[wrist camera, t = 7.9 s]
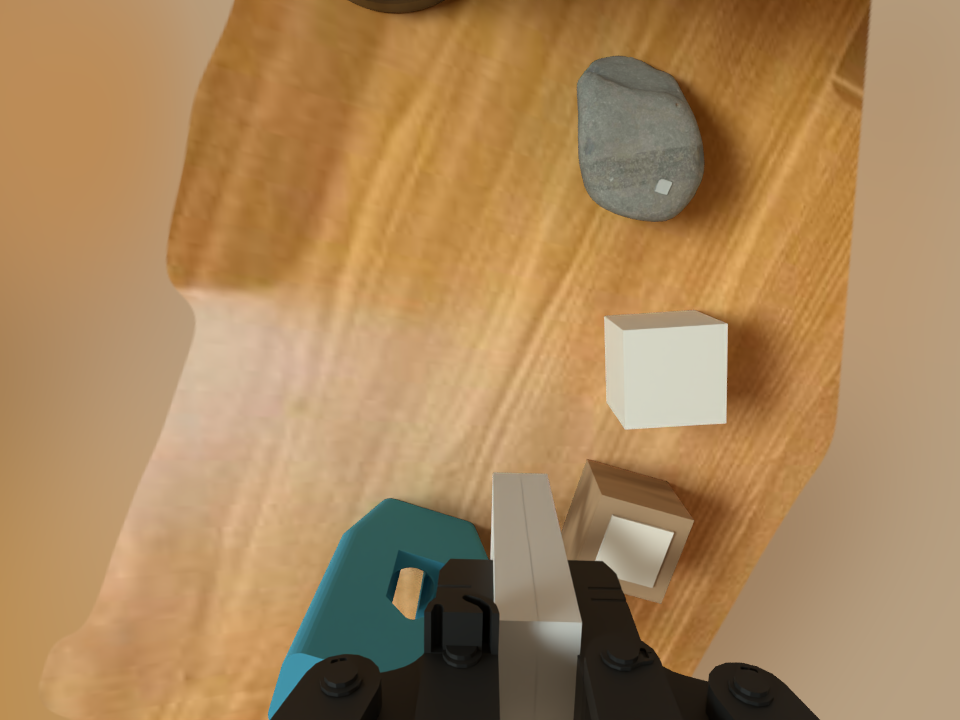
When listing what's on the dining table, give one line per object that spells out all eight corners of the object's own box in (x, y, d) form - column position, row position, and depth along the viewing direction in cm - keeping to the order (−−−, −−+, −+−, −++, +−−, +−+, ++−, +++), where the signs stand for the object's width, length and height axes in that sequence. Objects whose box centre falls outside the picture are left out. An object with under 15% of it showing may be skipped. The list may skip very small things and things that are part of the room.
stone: (701, 61, 45) (737, 106, 37) (668, 179, 50) (693, 239, 43) (576, 49, 45) (585, 92, 37) (557, 168, 50) (562, 227, 43)
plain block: (604, 315, 49) (622, 330, 42) (694, 309, 49) (727, 323, 42) (606, 401, 50) (625, 429, 43) (693, 396, 50) (726, 423, 43)
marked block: (586, 458, 51) (602, 496, 44) (667, 481, 52) (695, 522, 44) (560, 533, 53) (571, 581, 46) (639, 554, 53) (662, 606, 46)
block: (498, 530, 53) (505, 711, 33) (480, 581, 54) (476, 785, 34) (362, 489, 52) (287, 648, 32) (346, 541, 53) (264, 725, 34)
